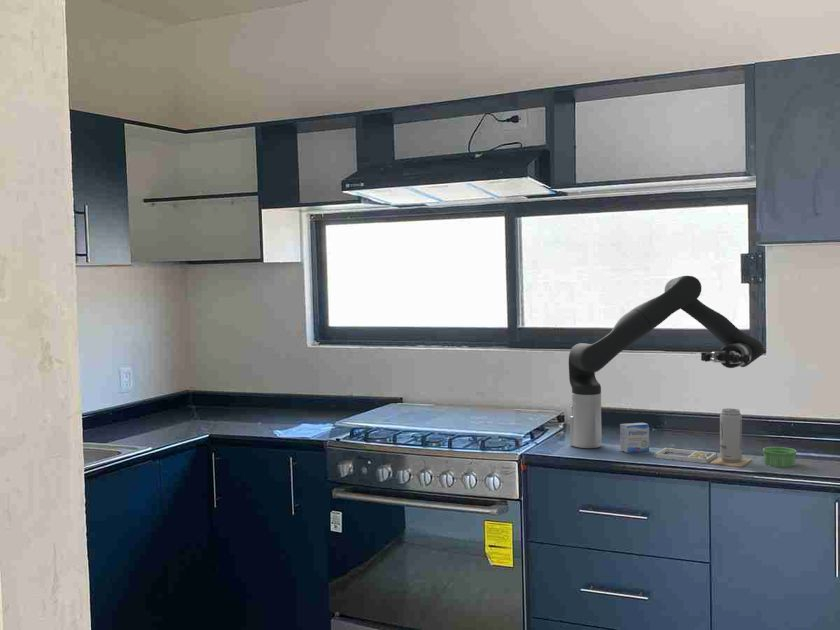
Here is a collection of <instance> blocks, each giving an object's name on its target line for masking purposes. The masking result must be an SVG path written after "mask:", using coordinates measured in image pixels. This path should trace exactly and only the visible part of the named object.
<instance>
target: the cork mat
mask: <svg viewBox="0 0 840 630" xmlns="http://www.w3.org/2000/svg"><path fill="white" fill-rule="evenodd" d="M752 460H753V459H752V458H747V457H746V458H745V457H742V459H740V462H725V461H722V458H721V457H720V455H719V456H717V457H716V458H714V459H713V460H711V461H710V462H709V464H710V465H714V466H715V465H716V466H724V467H734V468H741V469H743V468H744V467H745V466H746V465H747V464H749V463H750V462H751V461H752Z"/></svg>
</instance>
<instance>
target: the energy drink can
mask: <svg viewBox="0 0 840 630" xmlns="http://www.w3.org/2000/svg"><path fill="white" fill-rule="evenodd" d="M742 451H743V416H742V414H741V412H740V409H738V408H722V409H721V413H720V414H719V456H720V457H721V458H722V461H725V462H740V459H742V458H743V452H742Z"/></svg>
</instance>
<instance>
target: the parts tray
mask: <svg viewBox="0 0 840 630" xmlns="http://www.w3.org/2000/svg"><path fill="white" fill-rule="evenodd" d="M665 452H666V453H671V452H673V453H674V454H666V453H665ZM681 453H682V454H681ZM675 454H681V455H675ZM690 454H691V455H690ZM682 455H683V456H682ZM684 455H687V456H684ZM717 455H718V453H717V452H714V451H713V452H711V451H701V450H693V449H684V448H683V449H682V448H671V447H664V448H662V449H660V450H659V451H656V452H655V453H654V455H653V456H654V457H656V459H663V458H665V459H666V460H672V459H675V461H681V460H683V462H691V463H692V462H693V463H701V464H709V463H710V462H712V461H713V460H715V459H716V458H718V456H717ZM665 459H664V460H665Z"/></svg>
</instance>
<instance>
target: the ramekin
mask: <svg viewBox="0 0 840 630" xmlns="http://www.w3.org/2000/svg"><path fill="white" fill-rule="evenodd" d="M762 452H763V461H764V464H765V465H766V464H767V465H766V466H768V465H770V466H769V467H772V466H776V467H775V468H782V467H786V468H792V467H791V466H793V467H794V466H795V465H796V455H797V453H798V451H797V450H796V449H795V448H791V447H783V446H767V447H763V448H762Z"/></svg>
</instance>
